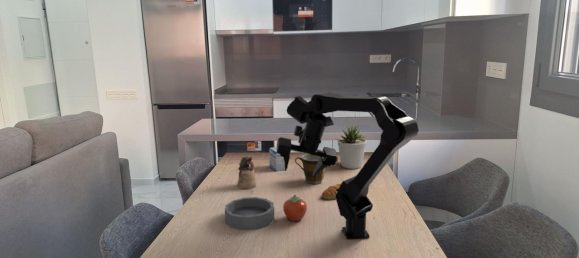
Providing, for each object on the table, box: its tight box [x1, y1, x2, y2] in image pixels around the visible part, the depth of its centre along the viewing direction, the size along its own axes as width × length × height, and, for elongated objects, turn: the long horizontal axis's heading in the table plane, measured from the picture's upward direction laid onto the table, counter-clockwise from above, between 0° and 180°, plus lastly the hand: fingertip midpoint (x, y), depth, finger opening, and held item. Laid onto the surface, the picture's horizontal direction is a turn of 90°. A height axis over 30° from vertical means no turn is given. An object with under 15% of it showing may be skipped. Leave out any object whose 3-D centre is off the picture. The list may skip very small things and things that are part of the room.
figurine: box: [237, 155, 258, 190], centre depth 150 cm, size 7×7×12 cm
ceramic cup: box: [294, 154, 326, 185], centre depth 155 cm, size 13×10×10 cm
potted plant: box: [335, 123, 368, 170], centre depth 171 cm, size 13×14×20 cm
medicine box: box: [268, 146, 285, 172], centre depth 171 cm, size 8×4×9 cm, turn 25°
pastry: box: [321, 183, 341, 201], centre depth 140 cm, size 9×7×4 cm
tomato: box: [282, 194, 308, 222], centre depth 122 cm, size 7×7×8 cm
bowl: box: [224, 196, 275, 231], centre depth 123 cm, size 15×15×4 cm
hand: (299, 172), depth 125 cm, fingers open, 9 cm apart
